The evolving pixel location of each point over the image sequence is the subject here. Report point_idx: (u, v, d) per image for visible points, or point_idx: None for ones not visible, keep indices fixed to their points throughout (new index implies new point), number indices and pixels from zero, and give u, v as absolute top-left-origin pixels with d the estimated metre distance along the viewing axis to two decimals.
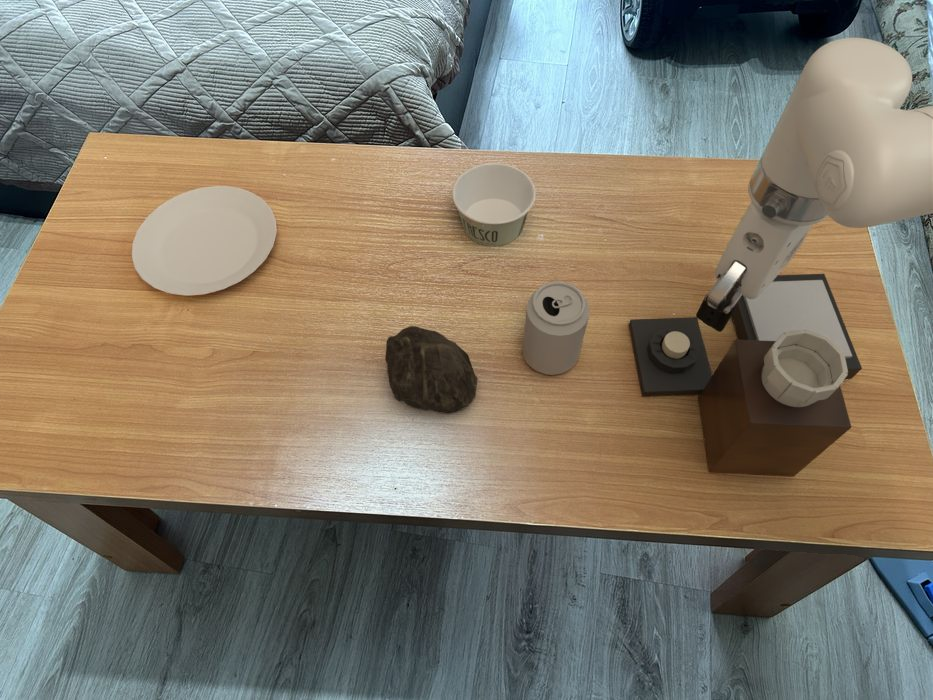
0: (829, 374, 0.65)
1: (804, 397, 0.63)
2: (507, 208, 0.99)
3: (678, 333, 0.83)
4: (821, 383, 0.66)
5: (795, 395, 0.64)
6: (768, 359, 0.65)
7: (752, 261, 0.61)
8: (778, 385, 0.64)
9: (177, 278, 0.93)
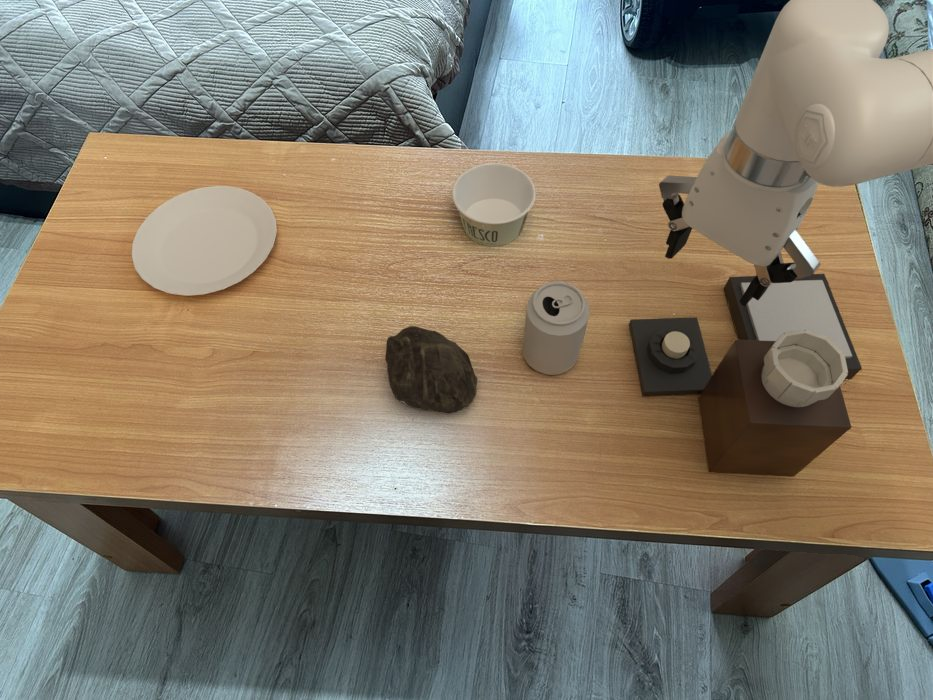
0: (829, 374, 0.65)
1: (804, 397, 0.63)
2: (507, 208, 0.99)
3: (678, 333, 0.83)
4: (821, 383, 0.66)
5: (795, 395, 0.64)
6: (768, 359, 0.65)
7: (802, 219, 0.59)
8: (778, 385, 0.64)
9: (177, 278, 0.93)
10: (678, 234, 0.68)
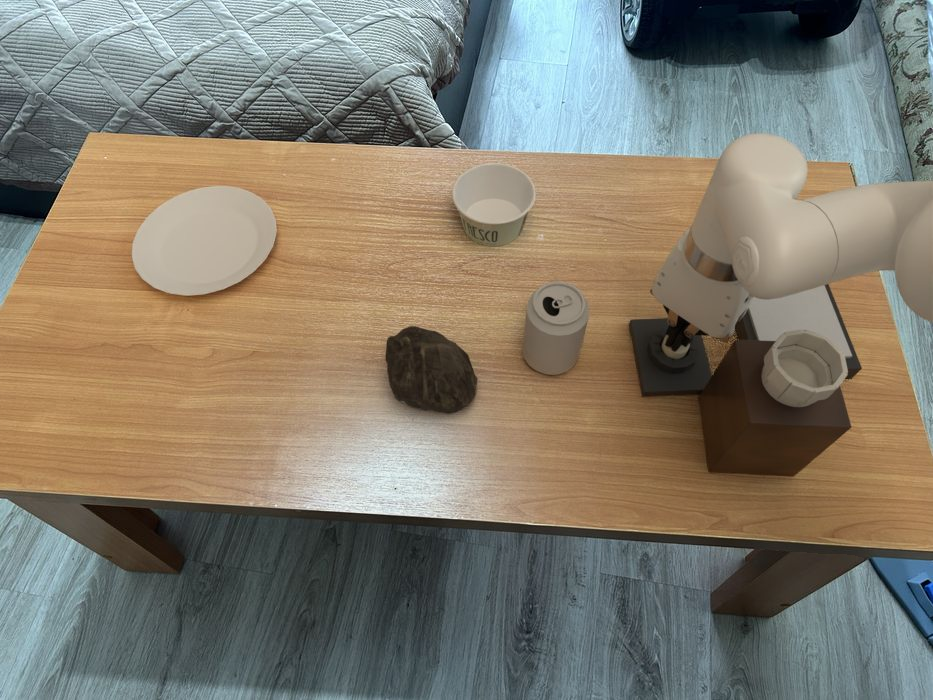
0: (829, 374, 0.65)
1: (804, 397, 0.63)
2: (507, 208, 0.99)
3: None
4: (821, 383, 0.66)
5: (795, 395, 0.64)
6: (768, 359, 0.65)
7: (750, 302, 0.70)
8: (778, 385, 0.64)
9: (177, 278, 0.93)
10: (676, 329, 0.78)
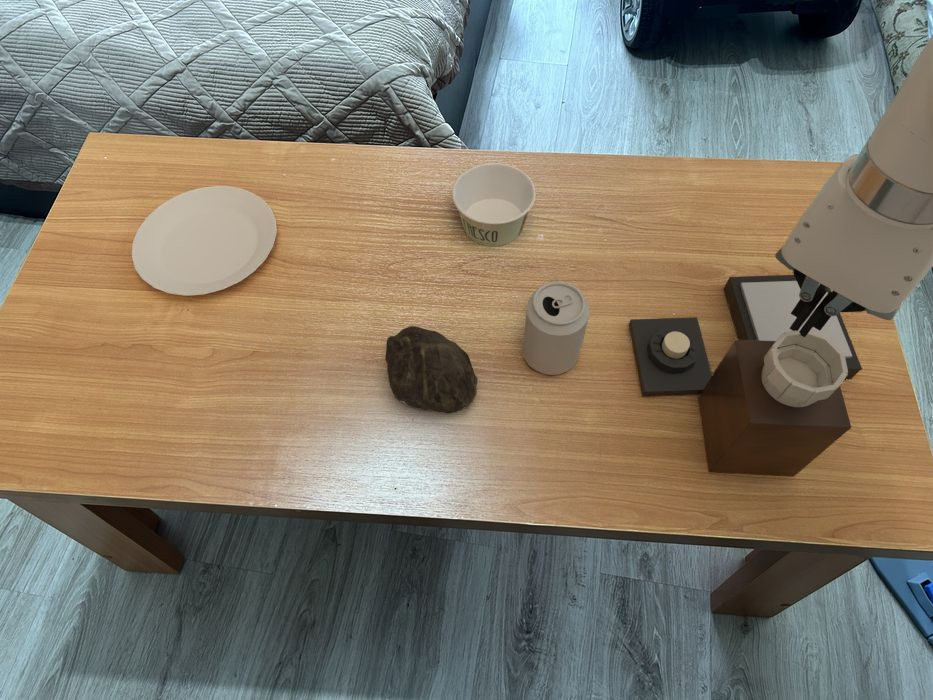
0: (829, 374, 0.65)
1: (804, 397, 0.63)
2: (507, 208, 0.99)
3: (678, 333, 0.83)
4: (821, 383, 0.66)
5: (795, 395, 0.64)
6: (768, 359, 0.65)
7: None
8: (778, 385, 0.64)
9: (177, 278, 0.93)
10: (811, 305, 0.58)
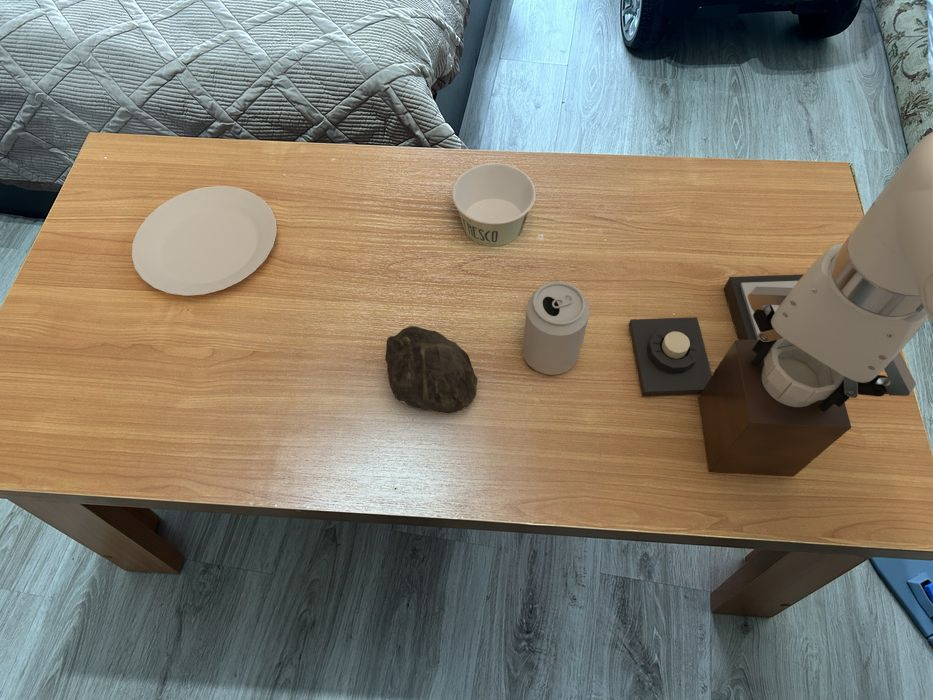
0: (829, 374, 0.65)
1: (804, 397, 0.63)
2: (507, 208, 0.99)
3: (678, 333, 0.83)
4: (821, 383, 0.66)
5: (795, 395, 0.64)
6: (768, 359, 0.65)
7: None
8: (778, 385, 0.64)
9: (177, 278, 0.93)
10: (769, 345, 0.65)
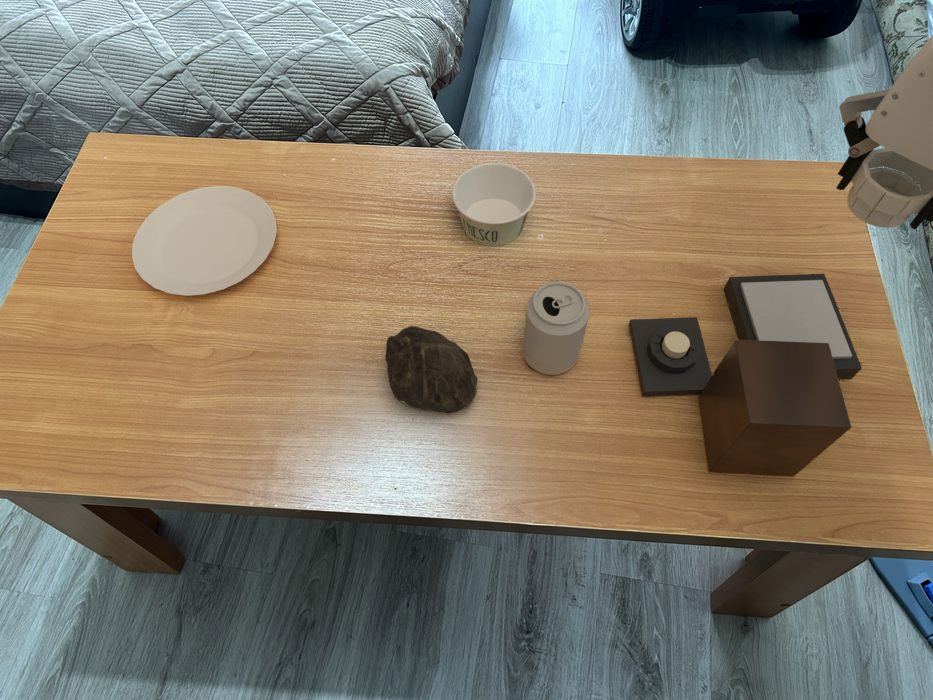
0: (919, 192, 0.64)
1: (897, 209, 0.62)
2: (507, 208, 0.99)
3: (678, 333, 0.83)
4: None
5: (887, 208, 0.62)
6: (858, 176, 0.64)
7: None
8: (869, 200, 0.63)
9: (177, 278, 0.93)
10: (859, 161, 0.63)
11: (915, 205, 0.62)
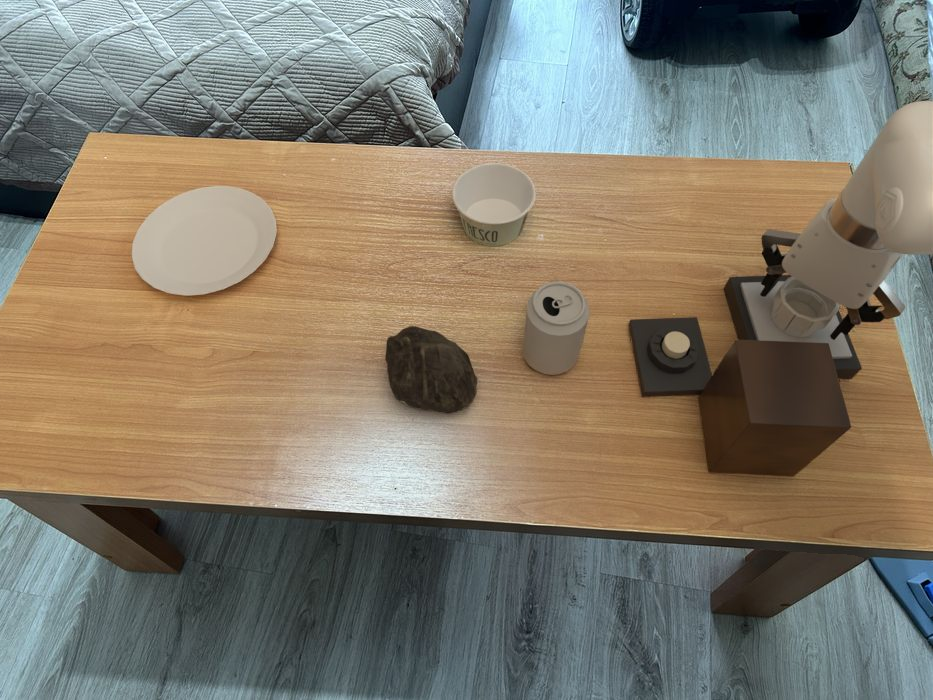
0: (825, 310, 0.82)
1: (805, 326, 0.80)
2: (507, 208, 0.99)
3: (678, 333, 0.83)
4: (819, 318, 0.83)
5: (798, 325, 0.80)
6: (777, 298, 0.82)
7: None
8: (785, 318, 0.81)
9: (177, 278, 0.93)
10: (775, 277, 0.81)
11: (819, 324, 0.80)
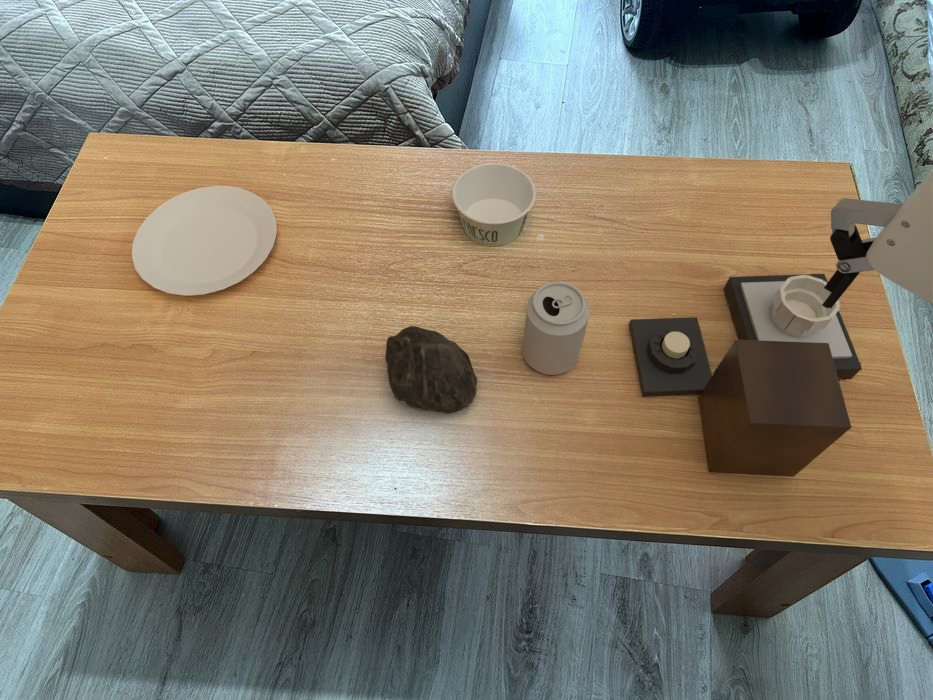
0: (825, 310, 0.82)
1: (805, 326, 0.80)
2: (507, 208, 0.99)
3: (678, 333, 0.83)
4: (819, 318, 0.83)
5: (798, 325, 0.80)
6: (777, 298, 0.82)
7: None
8: (785, 318, 0.81)
9: (177, 278, 0.93)
10: (850, 278, 0.49)
11: (819, 324, 0.80)
